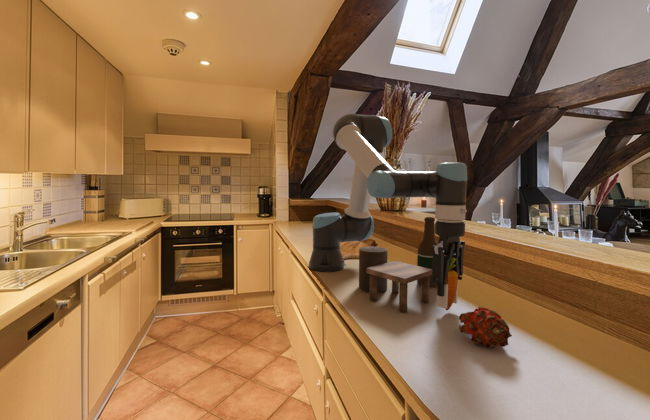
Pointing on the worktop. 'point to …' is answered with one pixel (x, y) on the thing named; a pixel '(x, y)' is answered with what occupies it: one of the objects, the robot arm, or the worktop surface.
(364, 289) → the pillar candle
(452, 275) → the carrot
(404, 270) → the walnut stool
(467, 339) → the worktop surface
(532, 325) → the worktop surface
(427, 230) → the beer bottle
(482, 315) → the dragon fruit
